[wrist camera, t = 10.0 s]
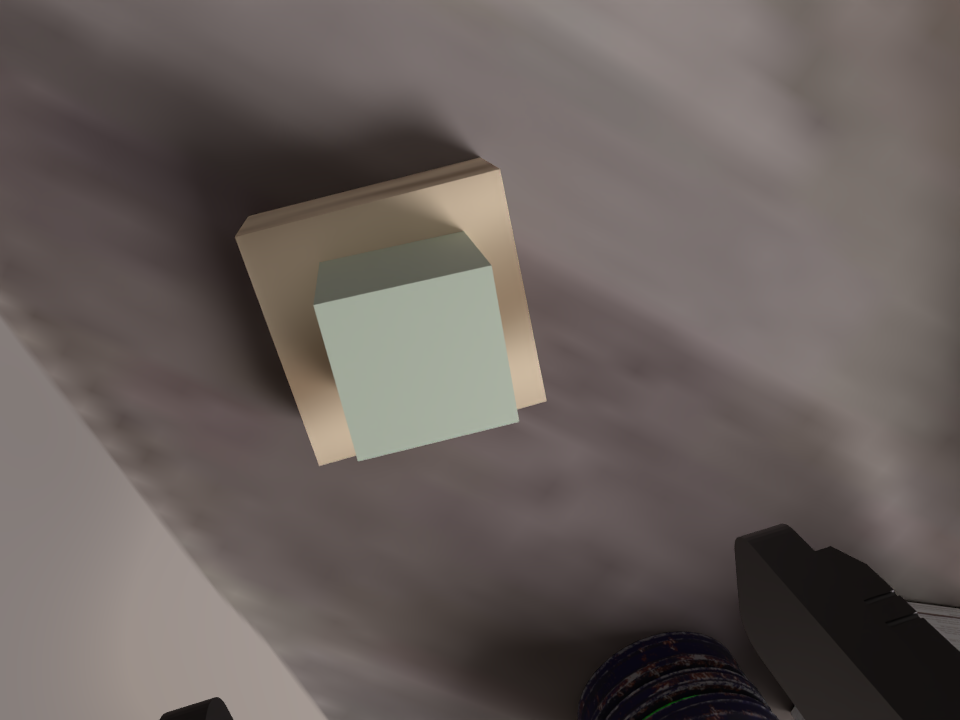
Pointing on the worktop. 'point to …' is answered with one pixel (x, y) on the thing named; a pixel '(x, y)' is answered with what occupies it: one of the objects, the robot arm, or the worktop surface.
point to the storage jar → (672, 683)
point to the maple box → (367, 227)
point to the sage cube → (415, 344)
